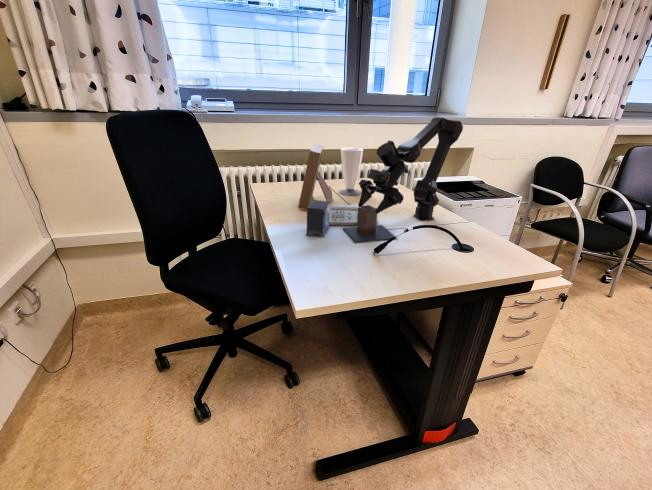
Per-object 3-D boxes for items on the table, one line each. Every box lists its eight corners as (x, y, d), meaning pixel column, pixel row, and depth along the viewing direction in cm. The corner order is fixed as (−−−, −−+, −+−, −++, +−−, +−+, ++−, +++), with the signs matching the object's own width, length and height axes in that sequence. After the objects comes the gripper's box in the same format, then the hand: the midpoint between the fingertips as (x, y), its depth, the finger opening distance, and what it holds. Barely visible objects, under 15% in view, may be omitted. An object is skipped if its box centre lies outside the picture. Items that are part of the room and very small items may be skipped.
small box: (323, 237, 123) (323, 209, 118) (306, 235, 124) (305, 207, 119) (329, 227, 132) (330, 200, 127) (313, 226, 133) (313, 199, 128)
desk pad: (381, 225, 135) (381, 224, 135) (396, 238, 123) (396, 237, 123) (343, 229, 131) (343, 228, 131) (354, 242, 119) (354, 241, 119)
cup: (338, 189, 183) (339, 147, 172) (359, 189, 184) (361, 147, 174) (340, 195, 173) (342, 150, 163) (362, 195, 174) (365, 150, 164)
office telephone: (329, 202, 153) (373, 203, 153) (329, 208, 154) (372, 209, 154) (327, 218, 133) (377, 220, 133) (326, 225, 134) (377, 226, 134)
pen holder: (366, 229, 130) (368, 204, 125) (375, 233, 127) (377, 208, 122) (356, 231, 127) (358, 207, 123) (365, 235, 124) (367, 210, 119)
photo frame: (298, 209, 151) (296, 150, 138) (303, 196, 169) (302, 143, 157) (331, 210, 150) (332, 151, 138) (333, 197, 169) (334, 144, 157)
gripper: (363, 156, 124) (339, 190, 123) (401, 164, 111) (374, 203, 110) (377, 175, 132) (354, 208, 131) (414, 185, 119) (389, 221, 119)
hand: (367, 209), depth 123 cm, fingers open, 9 cm apart
